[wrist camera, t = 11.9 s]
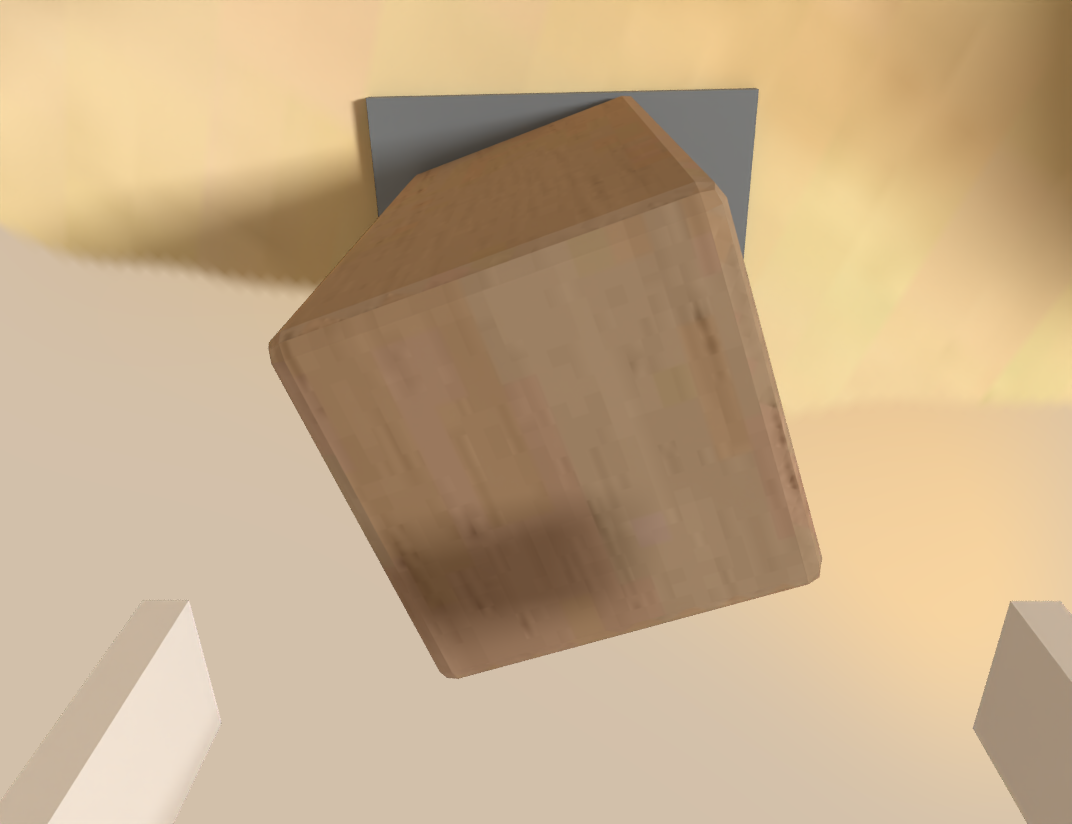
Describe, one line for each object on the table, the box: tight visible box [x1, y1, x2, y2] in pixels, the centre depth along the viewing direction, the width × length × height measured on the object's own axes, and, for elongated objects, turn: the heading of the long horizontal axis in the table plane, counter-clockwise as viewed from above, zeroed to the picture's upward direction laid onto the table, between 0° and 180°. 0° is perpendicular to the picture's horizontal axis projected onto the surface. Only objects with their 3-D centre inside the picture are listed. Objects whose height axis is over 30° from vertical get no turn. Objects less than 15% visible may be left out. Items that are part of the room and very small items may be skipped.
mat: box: [366, 88, 759, 259], centre depth 37 cm, size 14×16×1 cm
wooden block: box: [269, 96, 822, 679], centre depth 27 cm, size 10×10×20 cm
